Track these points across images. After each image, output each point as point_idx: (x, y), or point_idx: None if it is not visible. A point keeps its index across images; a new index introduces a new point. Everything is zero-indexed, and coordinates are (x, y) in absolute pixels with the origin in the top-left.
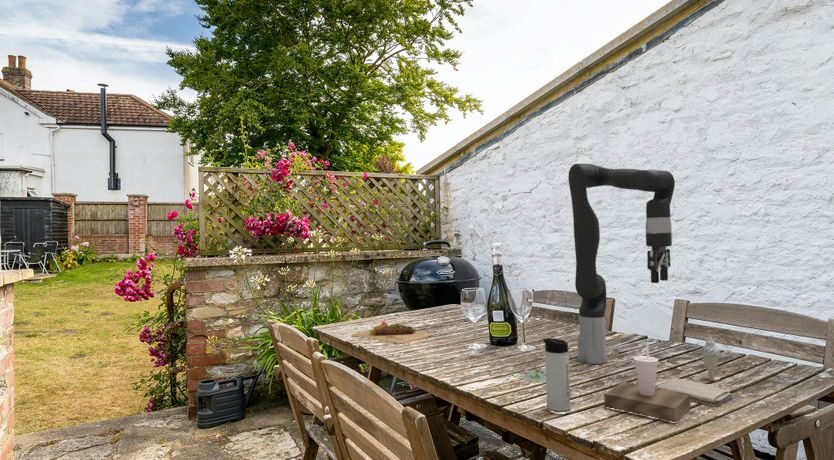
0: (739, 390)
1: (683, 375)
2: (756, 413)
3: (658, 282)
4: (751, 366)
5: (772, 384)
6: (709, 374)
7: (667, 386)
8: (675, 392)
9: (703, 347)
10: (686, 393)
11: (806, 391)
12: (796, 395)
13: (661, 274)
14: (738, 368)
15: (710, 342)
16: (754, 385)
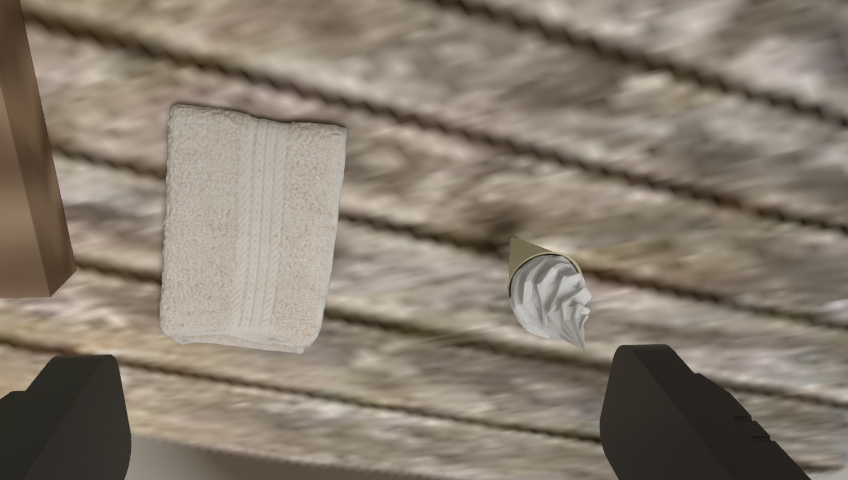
0: (421, 341)
1: (518, 135)
2: (195, 421)
3: (121, 458)
4: (783, 309)
5: (558, 399)
6: (511, 244)
7: (191, 162)
8: (20, 249)
9: (539, 282)
10: (44, 285)
11: (527, 474)
12: (466, 463)
13: (671, 439)
14: (734, 281)
15: (545, 329)
16: (514, 363)
